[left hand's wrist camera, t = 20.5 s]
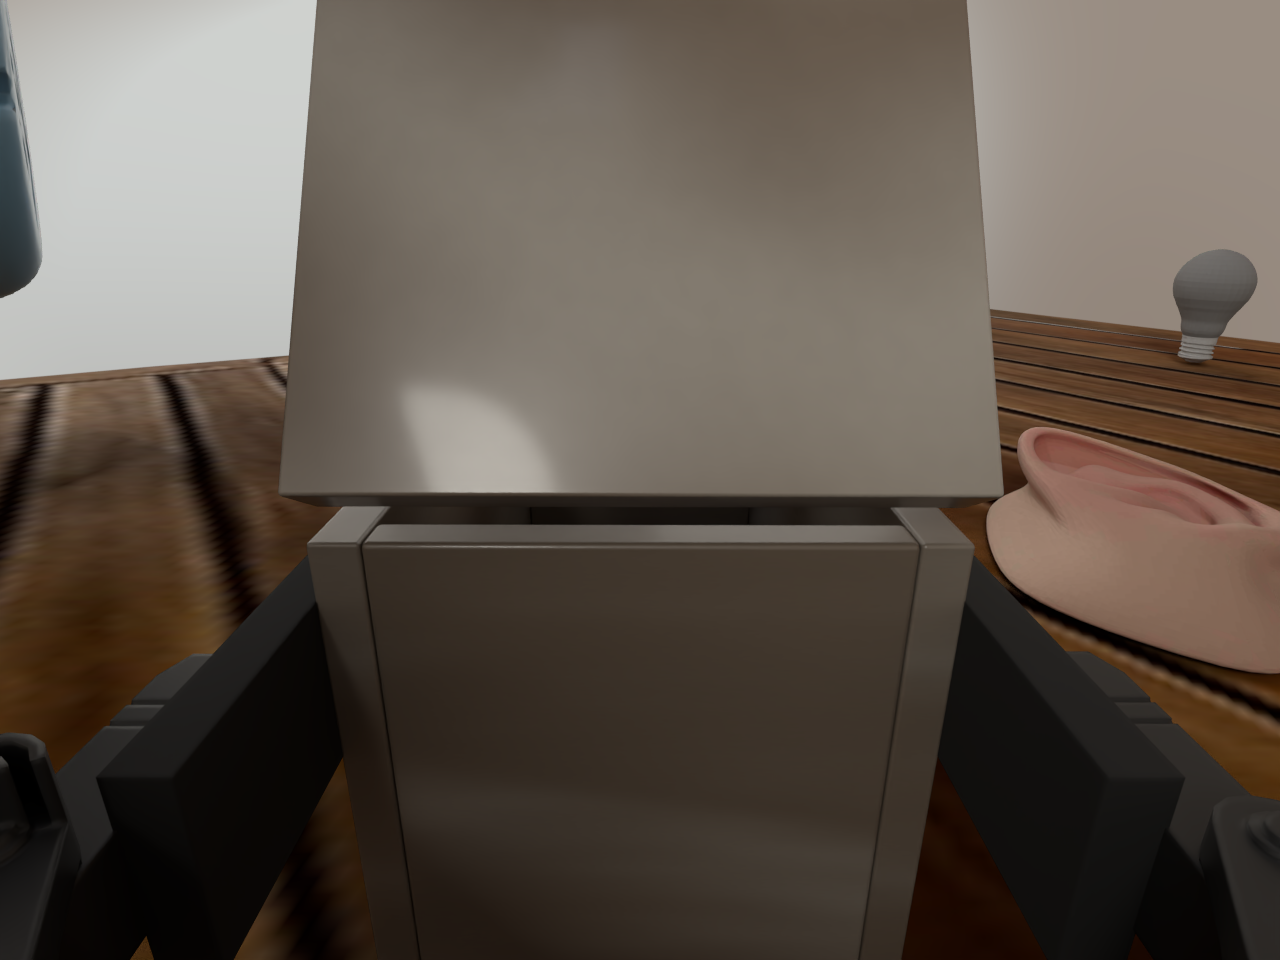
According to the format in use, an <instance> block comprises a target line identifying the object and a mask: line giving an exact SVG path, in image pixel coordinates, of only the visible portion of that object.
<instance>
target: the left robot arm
mask: <svg viewBox="0 0 1280 960" xmlns="http://www.w3.org/2000/svg"><path fill="white" fill-rule="evenodd" d="M41 262H42V243H41V232H40V223H39V215H38V206H37V199H36V191H35V183H34V176H33V169H32V162H31V155H30V148H29V141H28V134H27V128H26V120H25V113H24V107H23V101H22V95H21V88H20V82H19V76H18V69H17V62H16V55H15V49H14V42H13V36H12V30H11V24H10V18H9V12H8V6H7V0H0V298H3V297H5V296H7V295H10V294H13V293H14V292H16V291H18V290H20V289H21V288H23V287H25V286H26V285H27V284H29V283H30V282H31V280H32V279H33V278H34V277H35V276H36V274H37V272H38V270H39V268H40V265H41ZM1171 720H1172V718H1171V717H1170V716H1169V715H1168V714H1167V713H1165V712H1164V711H1163V710H1162V709H1161V708H1160V707H1159V706H1158V705H1157V704H1156V703H1151V702H1150V697H1149V696H1148V695H1147V694H1146V693H1145V692H1144V691H1143V690H1142V689H1141V688H1140V687H1139V686H1138V685H1136V684H1135V683H1134V682H1133V681H1132V680H1131V679H1130V678H1129V677H1128V676H1127V675H1126V674H1125V673H1124V672H1122V671H1120V670H1119V669H1117V668H1115V667H1114V666H1112V665H1110V664H1108V663H1107V662H1105V661H1103V660H1102V659H1100V658H1098V657H1097V656H1095V655H1093V654H1091V653H1090V652H1065V650H1064V649H1063V648H1062V647H1061V646H1060V645H1059V644H1058V643H1057V642H1056V641H1055V640H1054V639H1053V638H1052V637H1051V636H1050V635H1049V634H1048V633H1047V632H1046V631H1045V630H1044V628H1043V627H1042V626H1041V625H1040V624H1039V623H1038V622H1037V621H1036V620H1035V619H1034V618H1033V617H1032V616H1031V615H1030V614H1029V613H1028V612H1027V611H1026V610H1025V609H1024V607H1023V606H1022V605H1021V604H1020V603H1019V602H1018V601H1017V600H1016V599H1015V598H1014V597H1013V596H1012V595H1011V594H1010V593H1009V592H1008V591H1007V590H1006V589H1005V588H1004V586H1003V585H1002V584H1001V583H1000V582H999V581H998V580H997V579H996V578H995V577H994V576H993V575H992V574H991V573H990V572H989V571H988V570H987V569H986V568H985V567H984V565H983V564H982V563H981V562H980V561H979V560H978V559H977V558H976V557H975V556H974V555H973V561H972V566H971V572H970V578H969V583H968V589H967V594H966V600H965V602H964V608H963V614H962V619H961V625H960V631H959V636H958V642H957V648H956V653H955V659H954V665H953V670H952V676H951V682H950V688H949V693H948V699H947V705H946V710H945V716H944V722H943V727H942V733H941V739H940V744H939V750H938V758H939V760H940V761H941V763H942V765H943V767H944V769H945V771H946V773H947V774H948V776H949V778H950V780H951V782H952V784H953V786H954V787H955V789H956V791H957V793H958V795H959V797H960V799H961V800H962V802H963V804H964V806H965V808H966V810H967V812H968V813H969V815H970V817H971V819H972V821H973V823H974V825H975V826H976V828H977V830H978V832H979V834H980V836H981V838H982V839H983V841H984V843H985V845H986V847H987V849H988V851H989V852H990V854H991V856H992V858H993V860H994V862H995V864H996V865H997V867H998V869H999V871H1000V873H1001V875H1002V876H1003V878H1004V880H1005V882H1006V884H1007V886H1008V888H1009V889H1010V891H1011V893H1012V895H1013V897H1014V899H1015V901H1016V902H1017V904H1018V906H1019V908H1020V910H1021V912H1022V914H1023V915H1024V917H1025V919H1026V921H1027V923H1028V925H1029V927H1030V928H1031V930H1032V932H1033V934H1034V936H1035V938H1036V940H1037V941H1038V943H1039V945H1040V947H1041V949H1042V951H1043V953H1044V954H1045V956H1046V958H1047V960H1127V958H1128V955H1129V952H1130V949H1131V945H1132V942H1133V939H1134V936H1135V933H1136V934H1137V936H1138V937H1139V939H1140V940H1141V942H1142V943H1143V945H1144V946H1145V947H1146V949H1147V950H1148V952H1149V953H1150V955H1151V956H1152V958H1153V959H1154V960H1280V801H1278V800H1274V799H1268V798H1262V797H1257V796H1251V795H1250V794H1249V793H1248V792H1247V791H1246V790H1245V789H1244V788H1243V787H1242V786H1241V785H1240V784H1239V783H1238V782H1237V781H1236V780H1235V779H1234V778H1233V777H1232V776H1231V775H1230V774H1229V773H1228V772H1227V771H1226V770H1225V769H1223V768H1222V767H1221V766H1220V765H1219V764H1218V763H1217V762H1216V761H1215V760H1214V759H1213V758H1212V757H1211V756H1210V755H1209V754H1208V753H1207V752H1206V751H1205V750H1204V749H1203V748H1202V747H1201V746H1200V745H1199V744H1198V743H1197V742H1196V741H1194V740H1193V739H1192V738H1191V737H1190V736H1189V735H1188V734H1187V733H1186V732H1185V731H1184V730H1183V729H1182V728H1181V727H1180V726H1179V725H1178V724H1173V723H1172V721H1171ZM342 757H343V752H342V746H341V741H340V735H339V729H338V723H337V718H336V712H335V706H334V701H333V695H332V689H331V683H330V678H329V672H328V666H327V661H326V655H325V649H324V643H323V638H322V632H321V626H320V621H319V615H318V609H317V603H316V598H315V592H314V587H313V581H312V575H311V569H310V563H309V558H308V555H307V556H306V557H305V558H304V559H303V560H302V561H301V562H300V563H299V564H298V565H297V566H296V567H295V569H294V570H293V571H292V572H291V573H290V574H289V575H288V576H287V577H286V578H285V579H284V580H283V581H282V582H281V583H280V584H279V585H278V586H277V587H276V588H275V590H274V591H273V592H272V593H271V594H270V595H269V596H268V597H267V598H266V599H265V600H264V601H263V602H262V603H261V604H260V605H259V606H258V607H257V608H256V609H255V611H254V612H253V613H252V614H251V615H250V616H249V617H248V618H247V619H246V620H245V621H244V622H243V623H242V624H241V625H240V626H239V627H238V628H237V629H236V630H235V632H234V633H233V634H232V635H231V636H230V637H229V638H228V639H227V640H226V641H225V642H224V643H223V644H222V645H221V646H220V647H219V648H218V649H217V650H216V651H215V653H214V654H193V655H191V656H189V657H187V658H186V659H184V660H182V661H181V662H179V663H177V664H176V665H174V666H172V667H170V668H169V669H167V670H165V671H164V672H162V673H160V674H159V675H157V676H156V677H155V678H154V679H153V680H152V681H151V682H150V683H149V684H148V685H147V686H146V687H145V688H144V689H143V690H142V691H141V692H140V693H139V694H138V695H136V696H135V697H134V698H133V699H132V704H131V705H126V706H125V707H124V708H123V709H122V710H121V711H120V712H119V713H118V714H117V715H116V716H115V717H114V718H113V719H112V720H111V721H110V726H105V727H104V728H103V729H102V730H100V731H99V732H98V733H97V734H96V735H95V736H94V737H93V738H92V739H91V740H90V741H89V742H88V743H87V744H86V745H85V746H84V747H83V748H82V749H81V750H80V751H79V752H78V753H77V754H76V755H75V756H74V757H73V758H72V759H71V760H70V761H69V762H68V763H67V764H66V765H64V766H63V767H62V768H61V769H60V770H59V771H58V772H57V773H56V774H55V773H54V770H53V767H52V764H51V761H50V758H49V755H48V752H47V749H46V747H45V744H44V742H42V741H41V740H39V739H37V738H36V737H34V736H33V735H30V734H18V733H4V734H0V960H130V959H131V957H132V956H133V954H134V953H135V951H136V950H137V948H138V947H139V946H140V944H141V943H142V941H143V940H144V938H145V937H146V936H147V939H148V942H149V945H150V948H151V951H152V955H153V958H154V960H234V958H235V956H236V954H237V952H238V950H239V949H240V947H241V945H242V943H243V941H244V939H245V937H246V936H247V934H248V932H249V930H250V928H251V926H252V924H253V923H254V921H255V919H256V917H257V915H258V913H259V911H260V910H261V908H262V906H263V904H264V902H265V900H266V898H267V897H268V895H269V893H270V891H271V889H272V887H273V886H274V884H275V882H276V880H277V878H278V876H279V874H280V873H281V871H282V869H283V867H284V865H285V863H286V861H287V860H288V858H289V856H290V854H291V852H292V850H293V848H294V847H295V845H296V843H297V841H298V839H299V837H300V835H301V834H302V832H303V830H304V828H305V826H306V824H307V822H308V821H309V819H310V817H311V815H312V813H313V811H314V809H315V808H316V806H317V804H318V802H319V800H320V798H321V796H322V795H323V793H324V791H325V789H326V787H327V785H328V783H329V782H330V780H331V778H332V776H333V774H334V772H335V770H336V769H337V767H338V765H339V763H340V761H341V759H342Z"/></svg>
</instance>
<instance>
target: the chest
mask: <svg viewBox="0 0 1280 960" xmlns="http://www.w3.org/2000/svg"><path fill="white" fill-rule="evenodd" d="M974 550H975V547H974V544H973V543H972V542H971V541H970V540H969V539H968V538H967V537H966V536H965V535H964V534H963V533H962V532H961V531H960V530H959V529H958V528H957V527H956V526H955V525H954V524H953V523H952V522H951V521H950V520H949V519H948V518H947V517H946V516H945V515H944V514H943V513H942V512H941V511H940V509H939V508H837V507H342V508H341V509H340V511H339V512H338V513H337V514H336V515H335V516H334V517H333V518H332V519H331V520H330V521H329V522H328V523H327V524H326V525H325V526H324V527H323V528H322V529H321V530H320V531H319V532H318V533H317V534H316V535H315V536H314V537H313V538H312V539H311V540H310V541H309V542H308V544H307V552H308V558H309V563H310V569H311V575H312V581H313V587H314V592H315V598H316V603H317V609H318V615H319V621H320V626H321V632H322V638H323V643H324V649H325V655H326V661H327V666H328V672H329V678H330V683H331V689H332V695H333V701H334V706H335V712H336V718H337V723H338V729H339V735H340V741H341V746H342V752H343V760H344V766H345V772H346V778H347V783H348V789H349V795H350V801H351V807H352V812H353V818H354V824H355V830H356V836H357V841H358V847H359V853H360V859H361V865H362V870H363V876H364V882H365V888H366V893H367V899H368V905H369V911H370V917H371V922H372V928H373V934H374V940H375V946H376V951H377V957H378V960H901V958H902V952H903V947H904V941H905V936H906V930H907V924H908V919H909V913H910V908H911V902H912V896H913V891H914V885H915V880H916V874H917V868H918V863H919V857H920V852H921V846H922V840H923V835H924V829H925V824H926V818H927V813H928V807H929V801H930V796H931V790H932V785H933V779H934V773H935V768H936V762H937V757H938V750H939V744H940V739H941V733H942V727H943V722H944V716H945V710H946V705H947V699H948V693H949V688H950V682H951V676H952V670H953V665H954V659H955V653H956V648H957V642H958V636H959V631H960V625H961V619H962V614H963V608H964V602H965V600H966V594H967V589H968V583H969V578H970V572H971V566H972V561H973V555H974Z"/></svg>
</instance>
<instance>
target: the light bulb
mask: <svg viewBox="0 0 1280 960" xmlns="http://www.w3.org/2000/svg"><path fill="white" fill-rule="evenodd" d="M1256 285H1257V273H1256V270H1255V268H1254V266H1253V264H1252V263H1251V262H1250V260H1249V259H1248V258H1246V257H1245V256H1244V255H1242V254H1240V253H1238V252H1234V251H1231V250H1223V249H1222V250H1213V251H1208V252H1205V253H1202V254H1199V255H1198V256H1196V257H1194V258H1193V259H1191V260H1190V261H1188V262H1187V263H1186V264H1185V265H1184V266H1183V267H1182V268H1181V269H1180V271H1179V272H1178V273H1177V275H1176V277H1175V279H1174V283H1173V296H1174V298H1175V301H1176V304H1177V306H1178V309H1179V312H1180V315H1181V331H1182V333H1183V335H1182V340H1181V341H1183V342H1182V343H1181V345H1182V347H1180V349H1181V351H1179V352H1178V356H1180V357H1181V358H1183V359H1185V361H1188V362H1194V363H1201V362H1204V361H1206V360H1209V359H1212V357H1213V356H1211V354H1213V352H1212V349H1215V348H1213V345H1216V343H1217V339H1218V337H1219V336H1220V335H1221V334H1222V333H1223V332H1224V330H1225V328H1226V325H1227V323H1228V321H1229V320H1230V319H1231V318H1232V317H1233V316H1234V315H1235V314H1236V313H1237V312H1238V311H1239V310H1240V309H1241V308H1242V307H1243V306H1244V305H1245V304H1246V303H1247V302H1248V300H1249V299H1250V298H1251V296H1252V294H1253V293H1254V290H1255V288H1256Z"/></svg>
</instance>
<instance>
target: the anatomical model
mask: <svg viewBox="0 0 1280 960" xmlns="http://www.w3.org/2000/svg"><path fill="white" fill-rule="evenodd" d="M1017 453H1018V459H1019V463H1020V466H1021V468H1022V471H1023V473H1024V475H1025V477H1026V479H1027V480H1028V484H1027V485H1026V486H1024V487H1023V488H1021V489H1019V490H1016V491H1014V492H1012V493H1009V494H1007V495H1005V496H1003V497H1002V498H1000V499H999V500H997V501H996V502H995V503H994V504H993V505H992V506H991V507H990V509H989V512H988V514H987V535H988V540H989V544H990V548H991V551H992V553H993V556H994V558H995V561H996V562H997V564H998V566H999V568H1000V570H1001V571H1002V572H1003V573H1004V575H1005V576H1006V577H1007V578H1008V580H1009V581H1010V582H1011V583H1013V584H1014V585H1015V586H1016V587H1017V588H1019V589H1020V590H1021V591H1023V592H1024V593H1025V594H1027V595H1029V596H1030V597H1032V598H1034V599H1035V600H1037V601H1039V602H1041V603H1043V604H1045V605H1047V606H1049V607H1051V608H1053V609H1055V610H1057V611H1059V612H1062V613H1064V614H1066V615H1068V616H1071V617H1073V618H1075V619H1078V620H1080V621H1083V622H1085V623H1088V624H1091V625H1093V626H1096V627H1098V628H1101V629H1104V630H1106V631H1109V632H1112V633H1115V634H1118V635H1121V636H1124V637H1126V638H1129V639H1132V640H1135V641H1138V642H1141V643H1144V644H1147V645H1150V646H1154V647H1157V648H1160V649H1163V650H1166V651H1169V652H1172V653H1176V654H1179V655H1182V656H1186V657H1190V658H1193V659H1197V660H1200V661H1204V662H1208V663H1211V664H1215V665H1218V666H1222V667H1227V668H1232V669H1237V670H1242V671H1247V672H1254V673H1264V674H1276V673H1280V511H1277V510H1275V509H1273V508H1271V507H1268V506H1266V505H1264V504H1262V503H1259V502H1257V501H1255V500H1253V499H1251V498H1248V497H1246V496H1244V495H1242V494H1240V493H1237V492H1235V491H1233V490H1231V489H1229V488H1227V487H1224V486H1222V485H1220V484H1218V483H1216V482H1213V481H1211V480H1209V479H1207V478H1204V477H1202V476H1199V475H1197V474H1195V473H1192V472H1190V471H1187V470H1185V469H1182V468H1179V467H1177V466H1174V465H1171V464H1168V463H1166V462H1163V461H1160V460H1157V459H1154V458H1151V457H1148V456H1145V455H1142V454H1139V453H1136V452H1133V451H1131V450H1128V449H1125V448H1122V447H1119V446H1116V445H1113V444H1110V443H1107V442H1104V441H1100V440H1097V439H1093V438H1090V437H1087V436H1083V435H1080V434H1076V433H1073V432H1069V431H1064V430H1060V429H1055V428H1047V427H1036V428H1031V429H1028V430H1026V431H1025V432H1024V433H1023V434H1022V435H1021V436H1020V438H1019V441H1018V447H1017Z"/></svg>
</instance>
